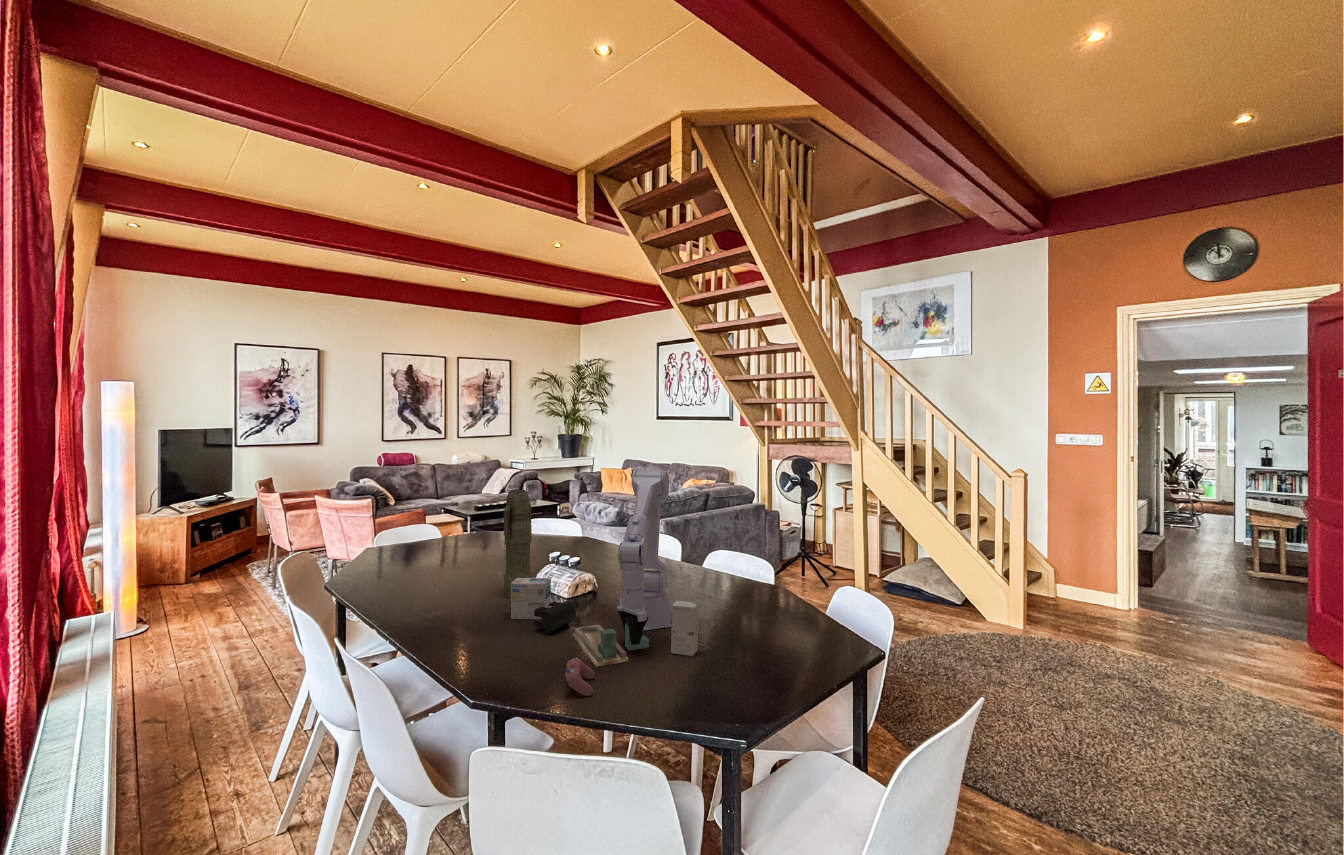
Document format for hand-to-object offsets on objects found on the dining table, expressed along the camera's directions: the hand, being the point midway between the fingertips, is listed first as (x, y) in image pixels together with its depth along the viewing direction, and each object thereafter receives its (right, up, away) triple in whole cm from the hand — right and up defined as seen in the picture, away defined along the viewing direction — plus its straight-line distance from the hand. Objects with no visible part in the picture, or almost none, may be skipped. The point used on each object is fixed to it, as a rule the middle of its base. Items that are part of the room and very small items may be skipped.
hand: (632, 641), depth 152 cm
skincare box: (+13, -2, -3) cm, 14 cm away
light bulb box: (-32, -2, +25) cm, 41 cm away
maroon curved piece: (-10, -2, -23) cm, 25 cm away
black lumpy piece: (-23, -2, +14) cm, 27 cm away
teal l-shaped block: (+1, -2, 0) cm, 2 cm away
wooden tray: (-9, -2, -1) cm, 9 cm away
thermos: (-42, -2, +47) cm, 63 cm away
